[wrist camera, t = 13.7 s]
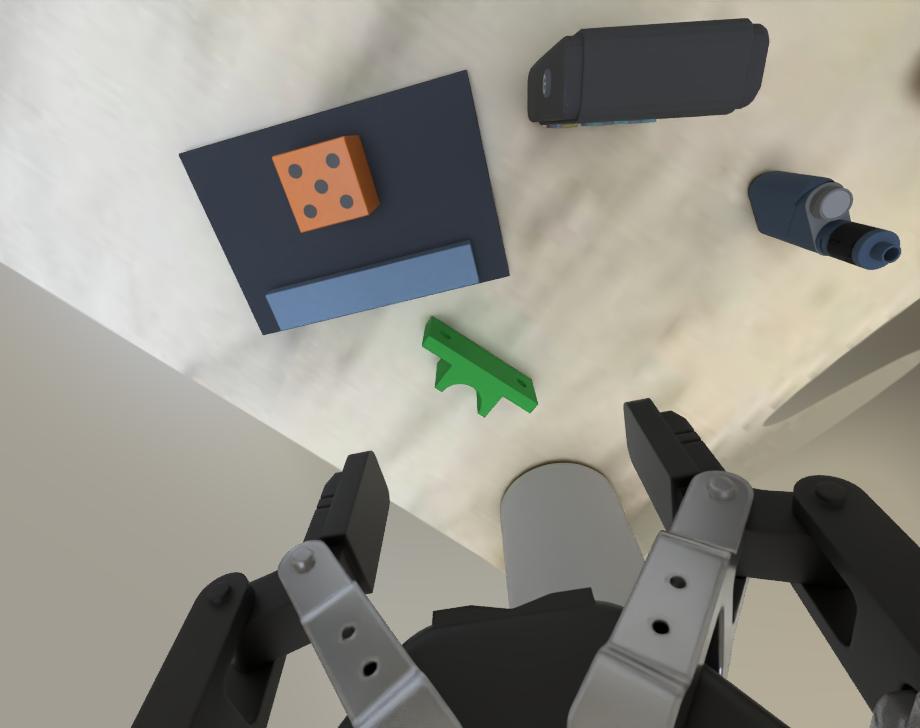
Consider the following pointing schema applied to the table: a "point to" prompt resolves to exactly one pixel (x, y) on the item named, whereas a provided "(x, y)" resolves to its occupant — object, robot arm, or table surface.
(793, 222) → the vaping device
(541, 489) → the cylinder vase
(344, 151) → the die
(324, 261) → the bed mat
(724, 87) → the dark grey rounded box
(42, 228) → the table surface
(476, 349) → the pipe clamp
